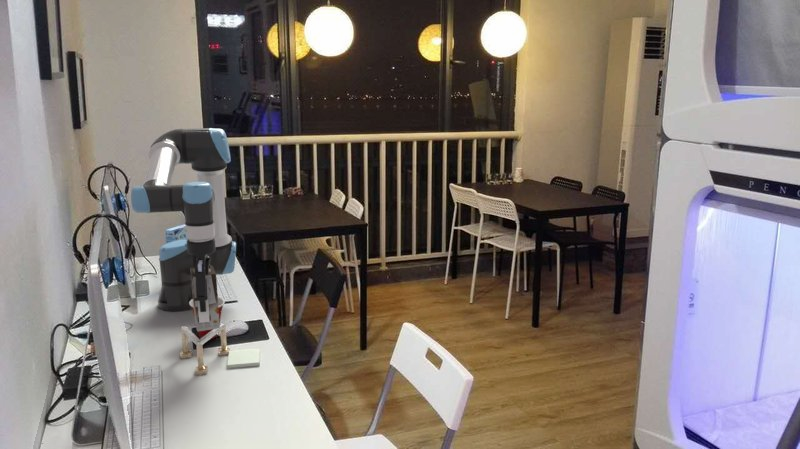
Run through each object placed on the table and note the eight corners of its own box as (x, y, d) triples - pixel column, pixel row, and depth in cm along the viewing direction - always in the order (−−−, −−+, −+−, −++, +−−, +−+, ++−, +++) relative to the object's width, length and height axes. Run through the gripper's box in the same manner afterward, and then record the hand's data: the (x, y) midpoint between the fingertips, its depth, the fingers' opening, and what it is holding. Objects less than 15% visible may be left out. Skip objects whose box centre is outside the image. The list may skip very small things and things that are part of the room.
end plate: (229, 353, 191) (229, 350, 190) (260, 351, 192) (259, 348, 192) (227, 368, 181) (227, 365, 181) (259, 365, 183) (259, 362, 183)
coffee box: (220, 328, 178) (216, 273, 174) (196, 332, 175) (192, 276, 172) (216, 317, 186) (212, 264, 182) (193, 320, 184) (189, 267, 180)
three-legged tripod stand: (181, 354, 190) (178, 325, 188) (230, 350, 193) (228, 321, 191) (174, 376, 176) (171, 345, 174) (227, 372, 179) (225, 341, 177)
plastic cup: (217, 344, 197) (214, 307, 195) (185, 341, 199) (182, 305, 197) (232, 331, 208) (230, 296, 205) (202, 328, 210) (199, 294, 207)
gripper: (191, 229, 185) (196, 302, 190) (180, 250, 163) (187, 331, 169) (218, 228, 186) (222, 300, 191) (211, 248, 165) (216, 329, 170)
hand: (206, 314), depth 180 cm, fingers closed on coffee box, 10 cm apart
